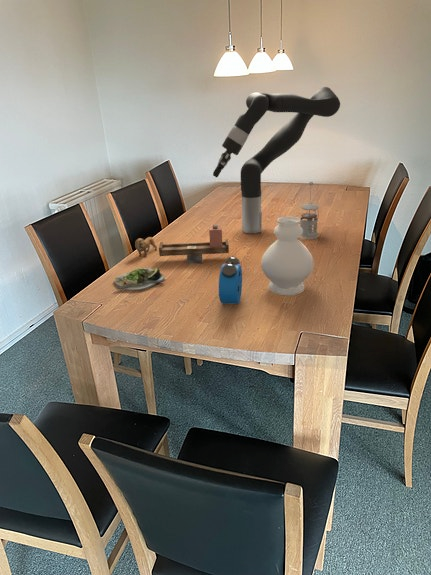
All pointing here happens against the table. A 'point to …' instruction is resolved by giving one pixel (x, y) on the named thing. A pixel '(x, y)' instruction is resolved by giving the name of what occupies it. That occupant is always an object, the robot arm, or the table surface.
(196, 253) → the beam
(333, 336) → the table surface
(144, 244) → the lion figurine
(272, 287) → the decorative vase
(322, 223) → the table surface
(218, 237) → the rider
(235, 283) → the alarm clock
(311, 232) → the french press
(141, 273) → the salad plate
